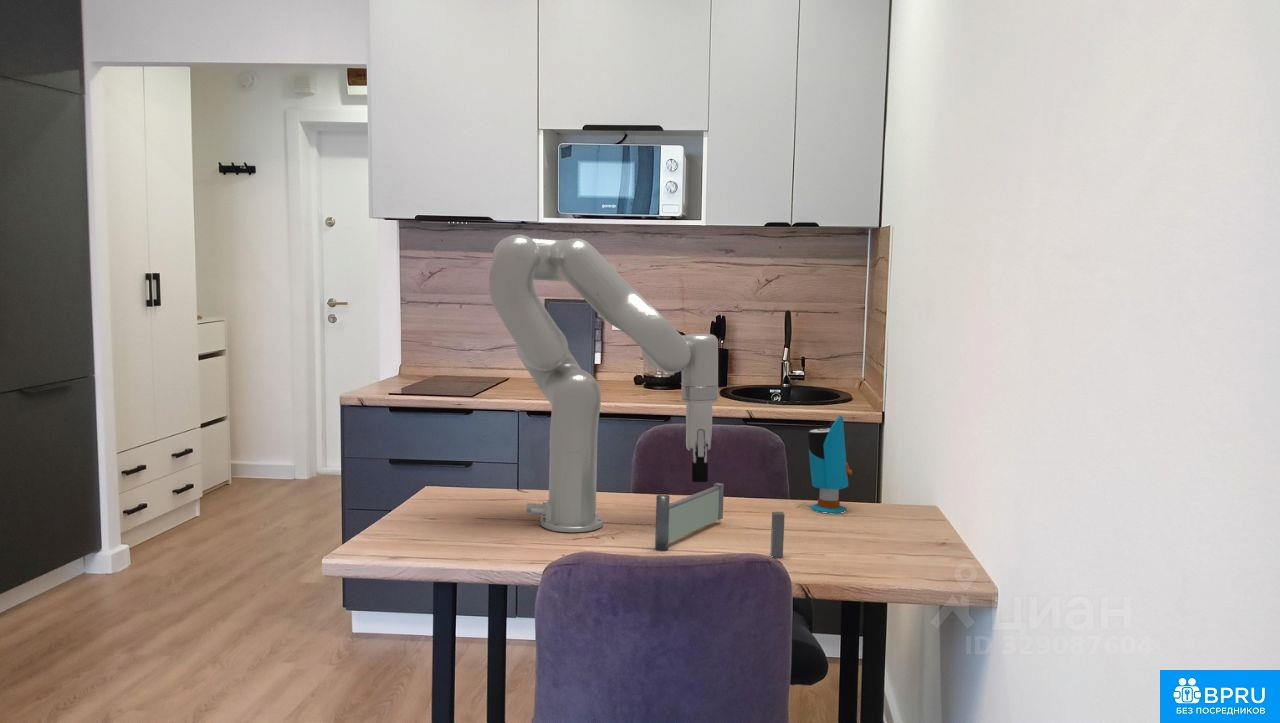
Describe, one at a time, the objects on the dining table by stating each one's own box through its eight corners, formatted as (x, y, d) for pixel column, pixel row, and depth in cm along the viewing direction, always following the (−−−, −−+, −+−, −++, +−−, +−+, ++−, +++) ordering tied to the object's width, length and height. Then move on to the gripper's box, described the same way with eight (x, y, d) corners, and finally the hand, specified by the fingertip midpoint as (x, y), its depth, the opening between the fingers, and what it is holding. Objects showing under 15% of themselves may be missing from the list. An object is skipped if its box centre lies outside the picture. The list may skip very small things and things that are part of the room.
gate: (669, 542, 172) (670, 504, 171) (661, 541, 173) (662, 503, 172) (722, 518, 191) (723, 483, 191) (715, 517, 192) (716, 482, 192)
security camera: (808, 411, 209) (854, 413, 207) (804, 503, 211) (849, 507, 209) (807, 416, 201) (855, 418, 199) (803, 512, 202) (850, 516, 200)
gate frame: (654, 550, 170) (655, 497, 169) (655, 546, 173) (657, 494, 172) (782, 558, 167) (785, 504, 167) (782, 554, 170) (784, 501, 169)
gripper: (680, 389, 198) (680, 473, 200) (682, 398, 184) (682, 489, 185) (715, 389, 198) (715, 473, 200) (720, 398, 183) (720, 489, 185)
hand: (699, 481), depth 193 cm, fingers closed
